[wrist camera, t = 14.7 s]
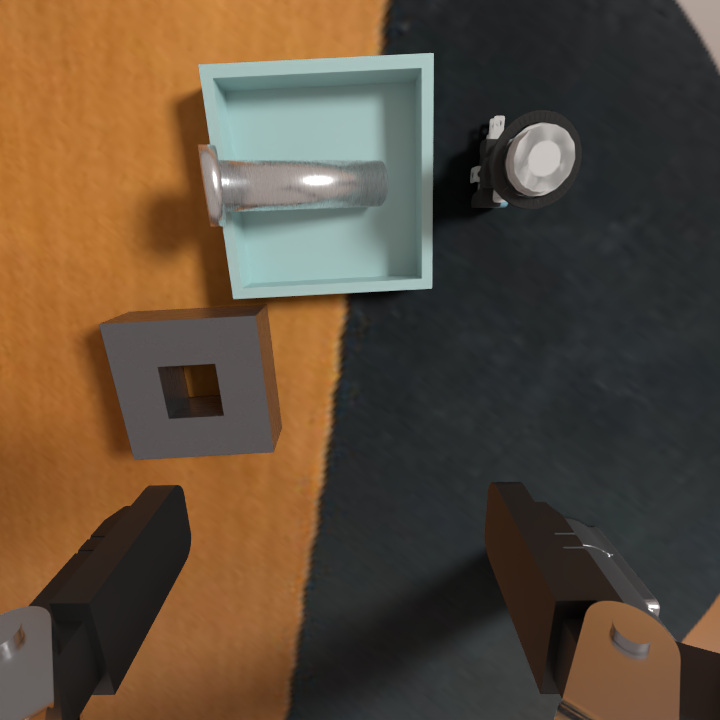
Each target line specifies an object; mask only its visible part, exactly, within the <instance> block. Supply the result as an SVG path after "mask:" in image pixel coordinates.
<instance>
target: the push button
mask: <svg viewBox="0 0 720 720" xmlns="http://www.w3.org/2000/svg"><path fill="white" fill-rule="evenodd" d="M500 121H501V126H500ZM504 121H505V117H504V116H495V117H494V119H491V120H490V126H489V135H487V137H486V139H485V140H483V141H482V142H481V144H480V151H479V152H480V162H479V166H476V167H474V168H472V169H471V177H470V183H474V182H478V183H477V191H476V192H475V193H474V194H473V195H472V199H471V207H472V208H502V207H506V206H507V203H509V204H511V205H513V206H515V207H518V208H523V209H536V208H541V207H545V206H547V205H550V204H552V203H553V202H555V201H557V200H558V199H559V198H561V197H562V196H563V195H564V194H565V193H566V192H567V191H568V189H569V188H570V187H571V185H572V184H573V182H574V180H575V179H576V176H577V174H578V171H579V168H580V164H581V156H582V149H581V142H580V138H579V135H578V133H577V131H576V129H575V128H574V126H573V125H572V123H571V122H570V121H569V120H568V119H566V118H565V117H564V116H562V115H560V114H558V113H556V112H553V111H547V110H538V111H533V112H529V113H527V114H524V115H523V116H521V117H519V118H517V119H516V120H514V121H513V122H512V123H511V124H509V125H508V126H507V127H506V128H505V130H504ZM496 124H497V125H496ZM492 125H493V128H492ZM523 128H525V129H524V130H523V131H522V132H521V133H519V134H518V135H517V136H516V137H515V138H514V139H511V138H512V137H513V136H514V134H515V133H516V132H517V131H519V130H520V129H523ZM503 130H504V131H503ZM521 195H528V196H537V197H535V198H532V199H529V198H524V197H521Z"/></svg>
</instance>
